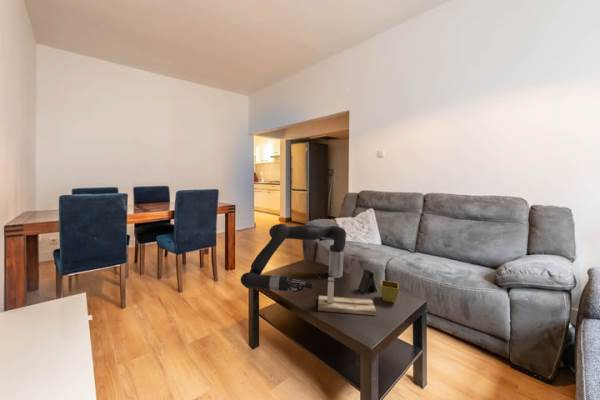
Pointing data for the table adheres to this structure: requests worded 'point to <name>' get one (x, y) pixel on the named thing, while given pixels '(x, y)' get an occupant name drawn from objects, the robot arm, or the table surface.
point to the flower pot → (389, 291)
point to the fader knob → (330, 290)
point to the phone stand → (367, 283)
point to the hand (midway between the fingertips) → (312, 285)
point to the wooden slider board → (347, 305)
